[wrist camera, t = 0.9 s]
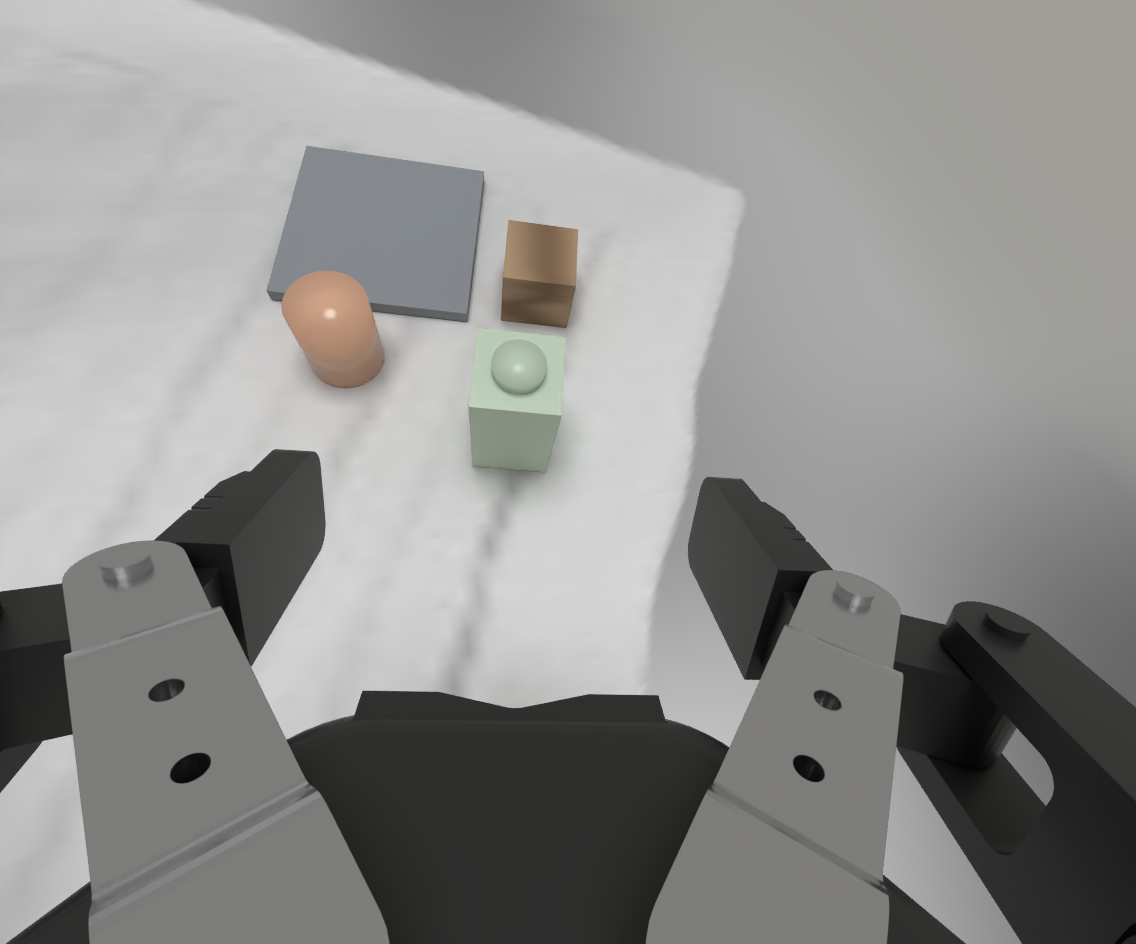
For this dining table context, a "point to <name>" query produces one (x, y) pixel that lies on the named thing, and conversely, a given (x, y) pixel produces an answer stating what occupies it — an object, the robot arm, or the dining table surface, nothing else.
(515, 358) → the sage brick
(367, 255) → the slate mat
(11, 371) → the dining table surface
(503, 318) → the walnut block
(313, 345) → the terracotta cylinder
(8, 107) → the dining table surface
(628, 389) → the dining table surface
